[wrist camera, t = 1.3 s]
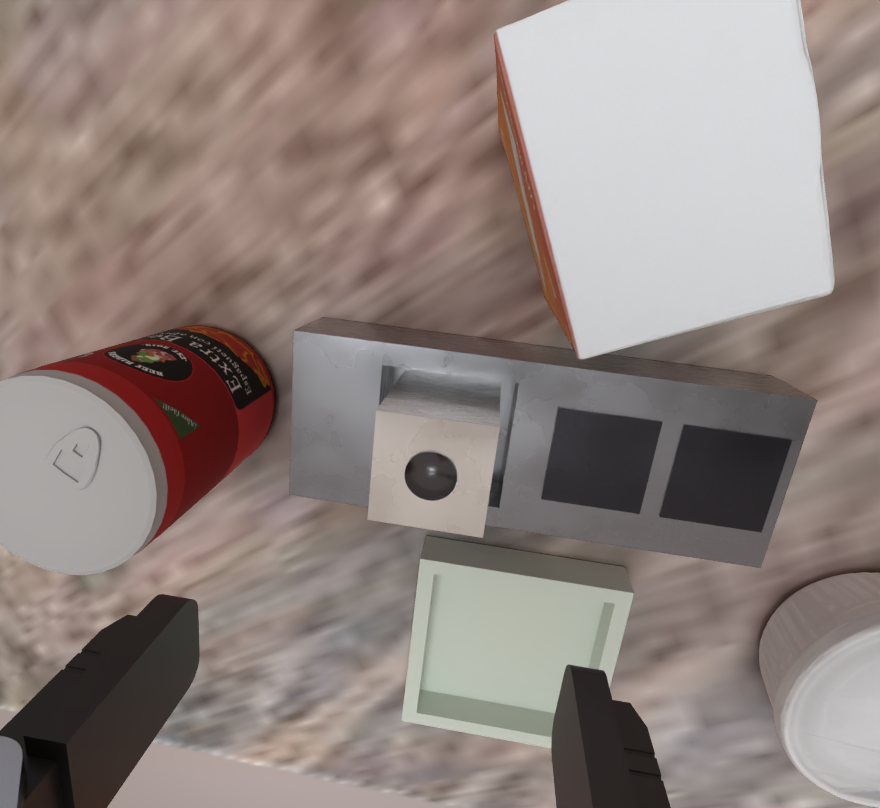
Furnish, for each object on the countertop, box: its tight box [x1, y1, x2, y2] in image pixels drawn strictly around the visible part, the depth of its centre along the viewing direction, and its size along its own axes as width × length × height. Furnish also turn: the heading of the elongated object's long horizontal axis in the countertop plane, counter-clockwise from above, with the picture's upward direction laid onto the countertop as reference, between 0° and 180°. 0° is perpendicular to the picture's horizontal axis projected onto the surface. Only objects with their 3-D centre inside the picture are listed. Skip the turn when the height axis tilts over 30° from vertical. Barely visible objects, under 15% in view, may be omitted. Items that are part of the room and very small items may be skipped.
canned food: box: [0, 326, 275, 575], centre depth 25 cm, size 8×8×11 cm
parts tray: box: [402, 536, 634, 748], centre depth 31 cm, size 11×11×2 cm
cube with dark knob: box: [368, 368, 501, 538], centre depth 24 cm, size 5×5×7 cm
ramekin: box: [759, 572, 880, 808], centre depth 27 cm, size 11×11×5 cm
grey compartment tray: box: [289, 317, 817, 568], centre depth 26 cm, size 22×8×4 cm, turn 84°
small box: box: [494, 0, 835, 359], centre depth 19 cm, size 8×6×13 cm
